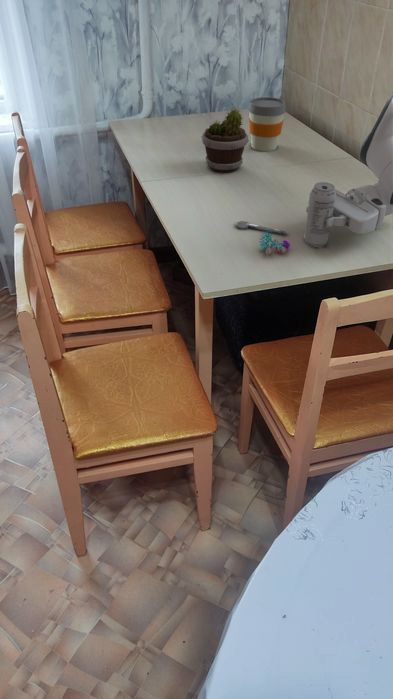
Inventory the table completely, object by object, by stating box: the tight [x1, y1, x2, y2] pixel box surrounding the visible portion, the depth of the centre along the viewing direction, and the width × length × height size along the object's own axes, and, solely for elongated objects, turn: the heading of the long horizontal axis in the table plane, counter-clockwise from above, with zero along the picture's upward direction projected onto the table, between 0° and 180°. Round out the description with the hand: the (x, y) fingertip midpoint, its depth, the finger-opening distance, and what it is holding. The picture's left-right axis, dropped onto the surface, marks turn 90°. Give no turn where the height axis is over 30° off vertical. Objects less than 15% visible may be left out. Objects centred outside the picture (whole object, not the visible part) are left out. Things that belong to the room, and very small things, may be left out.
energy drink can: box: [303, 181, 336, 248], centre depth 135 cm, size 6×6×15 cm
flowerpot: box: [201, 104, 250, 173], centre depth 172 cm, size 14×15×20 cm
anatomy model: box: [258, 231, 291, 256], centre depth 134 cm, size 5×8×7 cm
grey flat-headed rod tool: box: [235, 220, 287, 236], centre depth 144 cm, size 14×4×1 cm, turn 66°
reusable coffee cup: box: [248, 96, 286, 152], centre depth 189 cm, size 13×13×15 cm
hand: (317, 216), depth 134 cm, fingers closed on energy drink can, 6 cm apart
